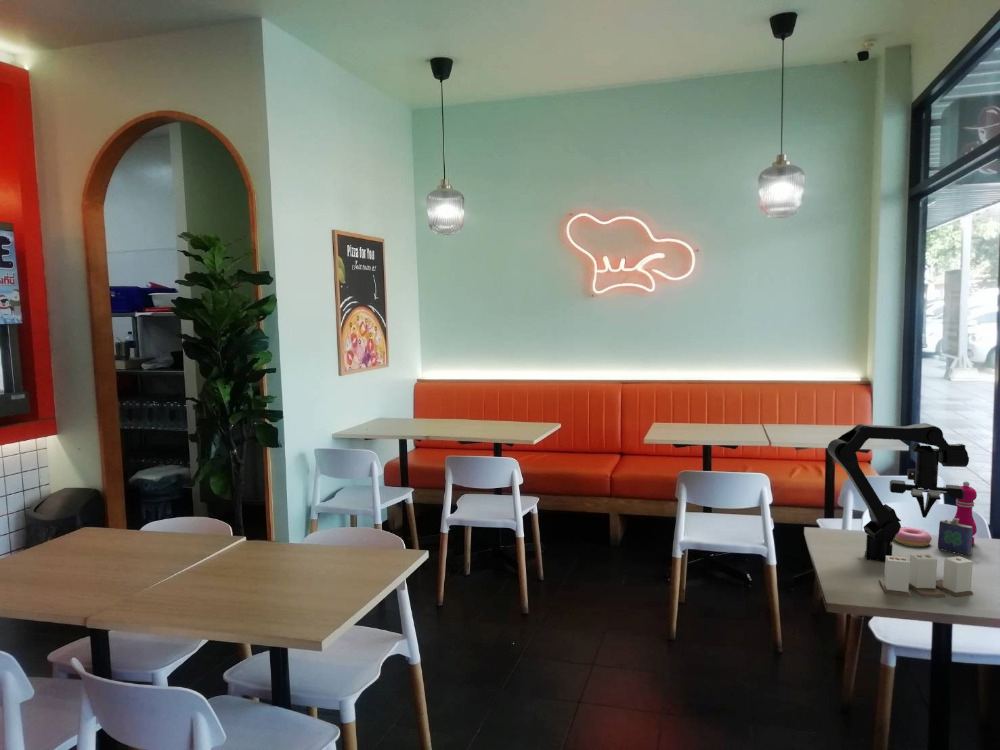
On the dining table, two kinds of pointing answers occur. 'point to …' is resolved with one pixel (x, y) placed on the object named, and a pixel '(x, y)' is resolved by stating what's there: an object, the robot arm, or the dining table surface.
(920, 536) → the doughnut
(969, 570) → the white pillar with knob
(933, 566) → the two-bump white pillar
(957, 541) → the flask
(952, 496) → the robot arm
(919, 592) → the tile tracks
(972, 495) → the pepper mill
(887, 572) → the three-dot tile
